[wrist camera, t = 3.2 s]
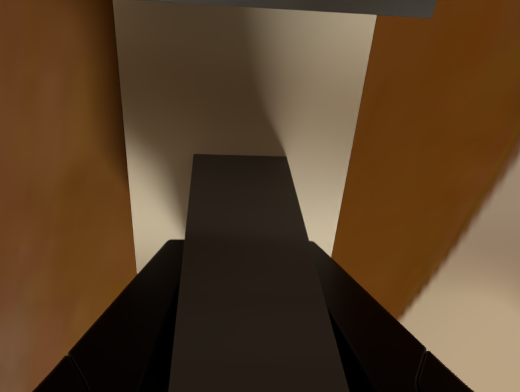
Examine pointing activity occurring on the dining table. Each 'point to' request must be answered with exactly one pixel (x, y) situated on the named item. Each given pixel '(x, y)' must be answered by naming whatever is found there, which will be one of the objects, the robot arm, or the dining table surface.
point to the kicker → (245, 173)
